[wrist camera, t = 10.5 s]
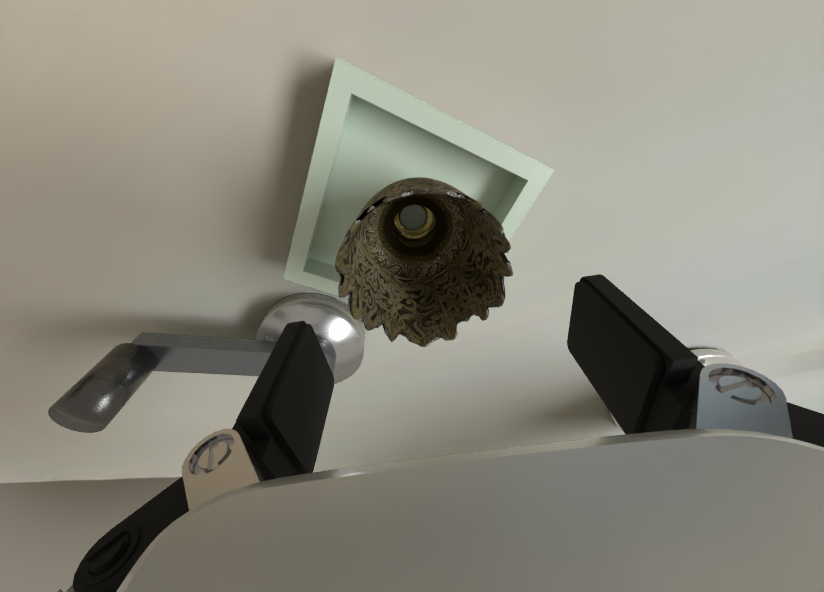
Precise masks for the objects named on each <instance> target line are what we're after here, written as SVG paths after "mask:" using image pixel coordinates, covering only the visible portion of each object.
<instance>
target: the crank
mask: <svg viewBox="0 0 824 592" xmlns="http://www.w3.org/2000/svg"><path fill="white" fill-rule="evenodd" d="M317 339H318V341H319V343H320V346H321V348H322V350H323V352H324V355H325V357H326V359H327V362H328V364H329V366H330V368H331V371H332V373H333V372H334V367H335V362H336V352H335V349H334V348H333V346H332V345H331V344H330V343H329V342H327V341H326V340H324V339H322V338H320V337H317ZM276 343H277V341H266V340H251V339H235V338H220V337H205V336H189V335H174V334H158V333H143V332H142V333H141V334H140V335H139V336H138V337H137V338H136V339H135V340H134V341H133V342H132V343H131V344H130V343H124V344H119V345H117V346H116V347H115V348H114V349H112V350H111V351H110V352H109V353H108V354H107V355H106V356H105V357H104V358H103V359H102V360H101V361H100V362H99V363H97V364H96V365H95V366H94V367H93V368H92V369H91V370H90V371H89V372H88V373H87V374H86V375H85V376H84V377H83V378H81V379H80V380H79V381H78V382H77V383H76V384H75V385H74V386H73V387H72V388H71V389H70V390H69V391H68V392H66V393H65V394H64V395H63V396H62V397H61V398H60V399H59V400H58V401H57V402H56V403H55V404H54V405H53V406H51V407H50V409H49V411H48V413H49V416H50V417H51V419H52V420H53V421H55V422H56V423H57V424H59V425H61V426H63V427H65V428H68V429H70V430H74V431H78V432H85V433H93V432H99V431H101V430H103V429H104V428H105V427H106V426H107V425H108V424H109V423H110V421H111V420H112V419H113V418H114V417H115V415H116V414H117V413H118V412H119V411H120V410H121V408H122V407H123V406H124V405H125V404H126V402H127V401H128V400H129V399H130V398H131V397H132V395H133V394H134V393H135V392H136V391H137V389H138V388H139V387H140V386H141V385H142V383H143V382H144V381H145V380H146V379H147V378H148V376H149V375H150V374H151V373H152V372H153V371H167V372H187V373H207V374H227V375H247V376H260V374H261V372H262V370H263V368H264V366H265V364H266V362H267V360H268V358H269V356H270V355H271V353H272V351H273V349H274V347H275V345H276Z"/></svg>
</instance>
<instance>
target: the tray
mask: <svg viewBox="0 0 824 592" xmlns="http://www.w3.org/2000/svg"><path fill="white" fill-rule="evenodd" d="M553 171H554V170H553V169H551V168H549V167H547V166H545V165H543V164H541V163H539V162H538V161H536V160H534V159H532V158H530V157H528V156H526V155H524V154H522V153H520V152H518V151H516V150H514V149H512V148H511V147H509V146H507V145H505V144H503V143H501V142H499V141H497V140H495V139H493V138H491V137H489V136H487V135H485V134H484V133H482V132H480V131H478V130H476V129H474V128H472V127H470V126H468V125H466V124H464V123H462V122H460V121H458V120H457V119H455V118H453V117H451V116H449V115H447V114H445V113H443V112H441V111H439V110H437V109H435V108H433V107H431V106H430V105H428V104H426V103H424V102H422V101H420V100H418V99H416V98H414V97H412V96H410V95H408V94H406V93H404V92H403V91H401V90H399V89H397V88H395V87H393V86H391V85H389V84H387V83H385V82H383V81H381V80H379V79H377V78H376V77H374V76H372V75H370V74H368V73H366V72H364V71H362V70H360V69H358V68H356V67H354V66H352V65H350V64H349V63H347V62H345V61H343V60H341V59H339V58H337V57H336V58H335V63H334V67H333V71H332V75H331V79H330V84H329V88H328V92H327V96H326V100H325V105H324V109H323V113H322V117H321V121H320V126H319V130H318V134H317V138H316V142H315V147H314V151H313V155H312V159H311V163H310V168H309V172H308V176H307V180H306V184H305V189H304V193H303V197H302V201H301V205H300V210H299V214H298V218H297V222H296V226H295V231H294V235H293V239H292V243H291V247H290V252H289V256H288V260H287V264H286V268H285V273H284V277H283V279H284V280H288V281H291V282H294V283H298V284H301V285H304V286H307V287H311V288H314V289H317V290H321V291H324V292H327V293H330V294H334V295H337V296H339V294H338V286H339V282H340V276H339V274H338V273H337V271H336V269H335V261H336V256H337V253H338V250H339V248H340V246H341V244H342V242H343V240H344V238H345V236H346V233H347V232H348V230H349V228H350V227H351V225H352V224H353V222H354V221H355V220H356V218H357V217H358V215H359V214H360V212H361V211H362V209H363V208H364V207H365V205H366V204H367V203H368V201H369V200H370V199H371V198H372V197H373V196H374V195H375V194H377V193H378V192H379V191H380V190H382V189H383V188H385V187H386V186H388V185H390V184H392V183H394V182H396V181H399V180H402V179H407V178H415V177H424V178H431V179H435V180H439V181H442V182H445V183H447V184H449V185H451V186H453V187H455V188H457V189H458V190H460V191H461V192H463V193H465V194H466V195H468V196H469V197H470V198H472V199H474V200H476V201H478V202H480V203H481V204H483V205H484V206H483V208H484V209H486V210H487V211H488V212H490V213H491V214H492V215H493V216H494V217H495V218H496V219H497V220H498V221H499V222H500V223H501V225H502V226H503V229H504V231H503V232H504V233H505V237H506V238H507V239H508V241H509V240H510V239H511V237H512V235H513V234H514V232H515V231H516V229H517V228H518V226H519V224H520V223H521V221H522V220H523V218H524V217H525V215H526V214H527V212H528V210H529V209H530V207H531V206H532V204H533V203H534V201H535V199H536V198H537V196H538V195H539V193H540V192H541V190H542V188H543V187H544V185H545V184H546V182H547V181H548V179H549V178H550V176H551V174H552V173H553ZM400 220H401V223H402V224H403V225H404V226H405V227H406V228H408V229H418V228H420V227H421V226H422V225H423V224H424V223H425V220H426V213H425V211H424V209H423V208H422V207H421V206H419V205H411V206H407V207H405V208H404V209H403V210H402V212H401V215H400ZM348 297H349V296H347V297H345V298H347V299H348Z"/></svg>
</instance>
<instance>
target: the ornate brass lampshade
mask: <svg viewBox="0 0 824 592" xmlns="http://www.w3.org/2000/svg"><path fill="white" fill-rule="evenodd" d="M411 205H419V206H421V207H422V208H423V209H424V211H425V213H426V220H425V223H424V224H423V225H422V226H421V227H420V228H418V229H408V228H406V227H405V226H404V225H403V224H402V223H401V220H400V215H401V212H402V210H403V209H404V208H405V207H407V206H411ZM483 206H484V205H483V204H481V203H480V202H478V201H476V200H474V199H472V198H470V197H469V196H468V195H466V194H465V193H463V192H461V191H460V190H458V189H457V188H455V187H453V186H451V185H449V184H447V183H445V182H442V181H439V180H435V179H431V178H424V177H415V178H407V179H402V180H399V181H396V182H394V183H392V184H390V185H388V186H386V187H385V188H383V189H382V190H380V191H379V192H378V193H377V194H375V195H374V196H373V197H372V198H371V199H370V200H369V201H368V203H367V204H366V205H365V207H364V208H363V209H362V211H361V212H360V214H359V215H358V217H357V218H356V220H355V221H354V222H353V224H352V225H351V227H350V228H349V230H348V232H347V233H346V236H345V238H344V240H343V242H342V244H341V246H340V248H339V250H338V253H337V256H336V261H335V269H336V271H337V273H338V274H339V276H340V282H339V286H338V294H339V297H340V298H341V297H343V298H345V297H347V296H349V297H348V304H349V311H350V313H351V315H352V317H353V318H354V319H357V320H359V319H361V321H362V322H363V323H364V326H365V328H366V330H372V329H374V328H379V327H380V326H381V325H383V328H384V331H385V333H386V335H387V336H388V338H389V339H390V341H391V342H393V341H394V340H395V339H396V338H397V336H398V335H399V334H401V335H403V336H405V337H406V338H407V339H408V341H410V342H412V343H415V344H417V345H419V346H421V347H426V346H428V345H430V344H431V343H432V342H434V341H435V340H437V339H439V338H443V339H444V340H454V339H455V338H456V336H457V330H456V329H457V324H458V323H460V322H461V321H468V320H469V319H470V317H471V316H473V315H476V316H479V317H480V319H481V320H483V321H484V320H486V319H487V318H488V315H489V309H488V307H500V306H502V305H503V302H504V300H505V286H504V276H505V277H506V276H507V277H509V276H513V272H512V268H511V264H510V262H509V261H508V260H507V258H506V256H505V254H504V253H507V252H508V251H509V250H510V248H511V246H510V243H509V241H508V239H507V238H506V237H505V233H504V232H503V231H504V229H503V226H502V225H501V223H500V222H499V221H498V220H497V219H496V218H495V217H494V216H493V215H492V214H491V213H490V212H488V211H487V210H486V209H484V208H483Z"/></svg>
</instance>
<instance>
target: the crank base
mask: <svg viewBox="0 0 824 592" xmlns="http://www.w3.org/2000/svg"><path fill="white" fill-rule="evenodd" d="M298 321H305V322H306V323H307V324H311V325H312V327H313V330H314V332H315V334H316V336H317V337H320V338H322V339H324V340H326V341H327V342H329V343H330V344H331V345H332V346H333V348H334V349H335V352H336V362H335V367H334V372H333V376H334V384H336V383H339V382H341V381H343V380H345V379H347V378H348V377H350V376H351V375H352V374H354V373H355V372H356V370H357V369H358V368H359V366H360V364H361V362H362V359H363V352H364V342H365V330H364V326H363V323H362V321H361V320H360V319H359V320H357V319H354V318H353V317H352V315H351V313H350V311H349V306H348V305H346V304H345V303H343V302H341V301H339V300H337V299H335V298H333V297H330V296H326V295H322V294H316V293H301V294H295V295H291V296H288V297H286V298H283V299H281V300H280V301H278V302H277V303H275V304H274V305H273V306H272V307H271V308H270V310H269V311H268V312H267V314H266V316H265V318H264V320H263V322H262V323H261V325H260V327H259V329H258V331H257V333H256V336H255V340H266V341H278V339H279V337H280V335H281V334H282V332H283V330H284V328H285V326H286V324H287V323H291V322H298Z"/></svg>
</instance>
